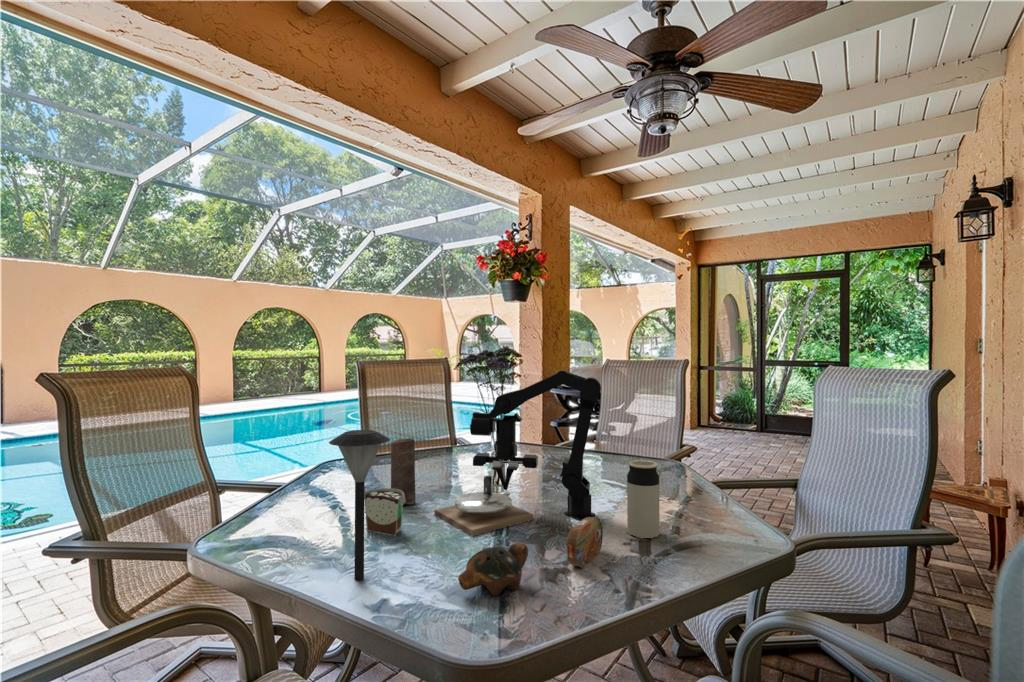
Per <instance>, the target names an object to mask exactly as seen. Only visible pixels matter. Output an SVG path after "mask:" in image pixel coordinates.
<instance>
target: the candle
mask: <svg viewBox="0 0 1024 682" xmlns="http://www.w3.org/2000/svg"><path fill="white" fill-rule="evenodd" d="M415 449H416V448H415V438H411V437H409V438H406V437H403V438H402V437H401V438H398V439H396V440H393V441H391V442H390V488H391V489H398V490H401V491H403V493H404V495H405V499H406V502H405V503H404V504H403V505H415V504H416V464H415V463H416V459H415V457H416V456H415V455H416V453H415V452H416V451H415Z"/></svg>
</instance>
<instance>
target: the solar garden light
mask: <svg viewBox="0 0 1024 682" xmlns="http://www.w3.org/2000/svg"><path fill="white" fill-rule="evenodd" d="M390 441H391V438H390V437H387V436H386V435H384V434H382V433H381V432H378V431H377V430H373V429H356V430H355V429H353V430H346V431H344V432H343V433H341V434H340V435H337V436H336V437H334V438H333V439H331V440H330V441H329V442H328V444H329V445H332V446H337V447H338V448H339V451H340V452H341V455H342V457H343V458H344V461H345V464H346V465H347V468H348V469H349V471H350V474H351V476H352V478H353V481H354V578H353V579H354V581H355V580H356V581H355V582H361V581H363V580H364V579H365V499H364V492H365V489H366V488H365V485H366V484H365V480H366V479H367V476H368V473H369V472H370V469H371V468H372V465H373V463H374V461H375V458H376V456H377V454H378V451H379V449H380V448H381V445H382V444H385V443H387V442H390Z"/></svg>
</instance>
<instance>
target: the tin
mask: <svg viewBox="0 0 1024 682" xmlns="http://www.w3.org/2000/svg"><path fill="white" fill-rule="evenodd" d="M603 530H604V529H603V524H602V521H601V519H600V518H599V517H597V516H596V517H594V516H592V517H586V518H585V519H581V520H580V521H579V522H578V523H576V524H575V525H574V526H572V528H570V529H569V531H568V532H569V533H568V535H567V539H566V551H567V552H566V553H567V560H568V563H569V564H570V565H571V566H574V567H579V568H580V569H584V568H586V567H587V566H588V565H589V564H590V563H591V562H592V561H593V560H594V559H595V558H596V557H597V556H598V555H599V554H600V552H601V550H602V545H603V540H604V539H603V538H604V537H603V536H604V533H603V532H604V531H603ZM588 563H589V564H588ZM587 564H588V565H587ZM586 565H587V566H586ZM585 566H586V567H585Z"/></svg>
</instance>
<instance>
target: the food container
mask: <svg viewBox="0 0 1024 682" xmlns="http://www.w3.org/2000/svg"><path fill="white" fill-rule="evenodd" d="M405 502H406V499H405V495H404V493H403V491H401V490H398V489H391V487H390V488H384V487H383V488H374V489H368V490H366V491H364V512H365V522H366V531H367V530H369V531H368V532H370V531H374V532H373V533H376V532H379V533H378V534H381V533H384V534H383V535H386V534H388V535H387V536H391V535H394V536H393V537H397V536H399V535H400V534H401V527H402V517H403V509H404V505H405V504H404V503H405ZM399 533H400V534H399ZM398 534H399V535H398Z"/></svg>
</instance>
